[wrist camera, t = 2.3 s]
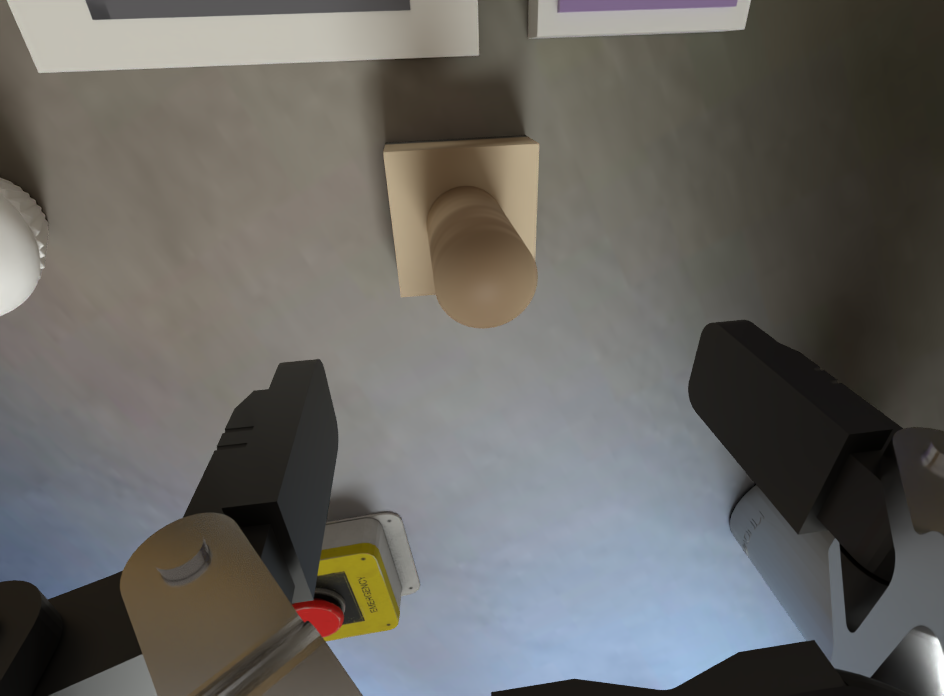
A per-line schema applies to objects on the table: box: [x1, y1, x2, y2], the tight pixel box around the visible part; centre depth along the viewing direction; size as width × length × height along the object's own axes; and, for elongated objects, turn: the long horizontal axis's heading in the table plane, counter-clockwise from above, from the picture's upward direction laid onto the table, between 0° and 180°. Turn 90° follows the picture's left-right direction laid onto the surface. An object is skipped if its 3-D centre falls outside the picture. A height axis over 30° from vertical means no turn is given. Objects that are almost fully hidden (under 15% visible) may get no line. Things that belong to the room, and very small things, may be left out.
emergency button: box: [292, 512, 420, 642], centre depth 32 cm, size 9×4×15 cm
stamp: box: [383, 135, 539, 328], centre depth 18 cm, size 6×6×9 cm
